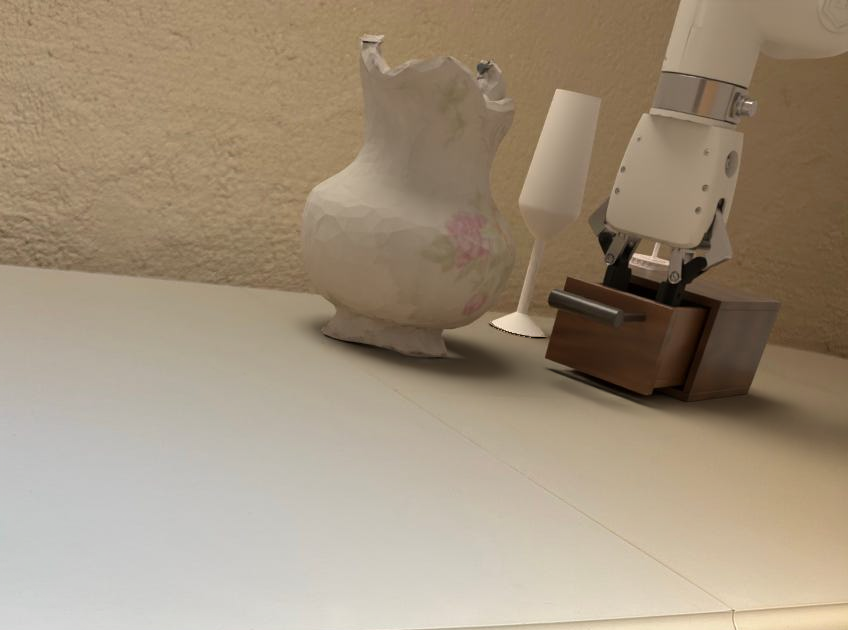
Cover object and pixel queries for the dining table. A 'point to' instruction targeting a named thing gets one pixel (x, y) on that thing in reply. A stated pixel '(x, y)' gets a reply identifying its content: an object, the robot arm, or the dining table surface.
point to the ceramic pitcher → (414, 207)
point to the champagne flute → (554, 187)
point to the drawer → (624, 334)
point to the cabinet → (720, 337)
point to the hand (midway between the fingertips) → (634, 316)
